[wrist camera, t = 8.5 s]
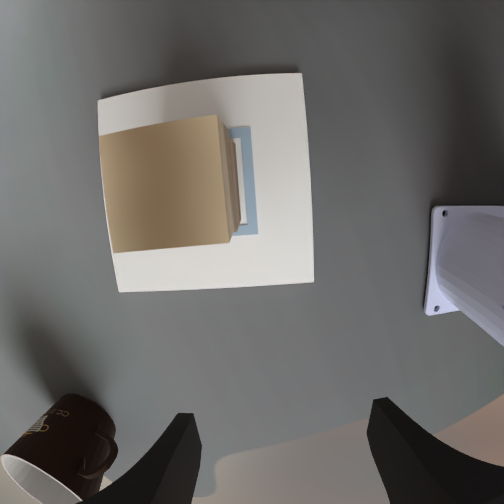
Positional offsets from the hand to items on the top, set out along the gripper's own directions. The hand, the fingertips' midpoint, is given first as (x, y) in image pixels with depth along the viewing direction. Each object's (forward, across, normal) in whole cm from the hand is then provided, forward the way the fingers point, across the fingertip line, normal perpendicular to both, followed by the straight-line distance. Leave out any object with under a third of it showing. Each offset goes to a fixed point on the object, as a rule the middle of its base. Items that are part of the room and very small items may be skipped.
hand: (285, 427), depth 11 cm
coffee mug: (+11, +17, +11) cm, 23 cm away
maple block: (+6, +4, -9) cm, 12 cm away
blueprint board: (+10, +4, -9) cm, 14 cm away
